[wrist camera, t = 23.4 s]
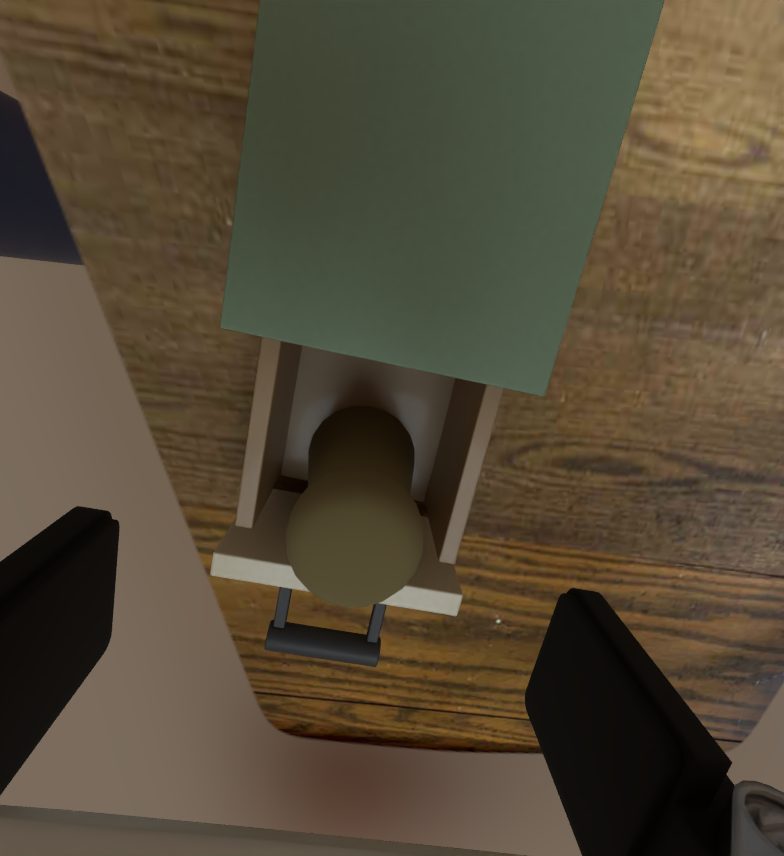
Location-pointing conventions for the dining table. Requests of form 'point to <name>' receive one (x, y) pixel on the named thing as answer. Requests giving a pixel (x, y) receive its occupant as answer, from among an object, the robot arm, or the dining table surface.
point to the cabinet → (429, 176)
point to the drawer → (288, 456)
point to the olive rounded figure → (357, 510)
